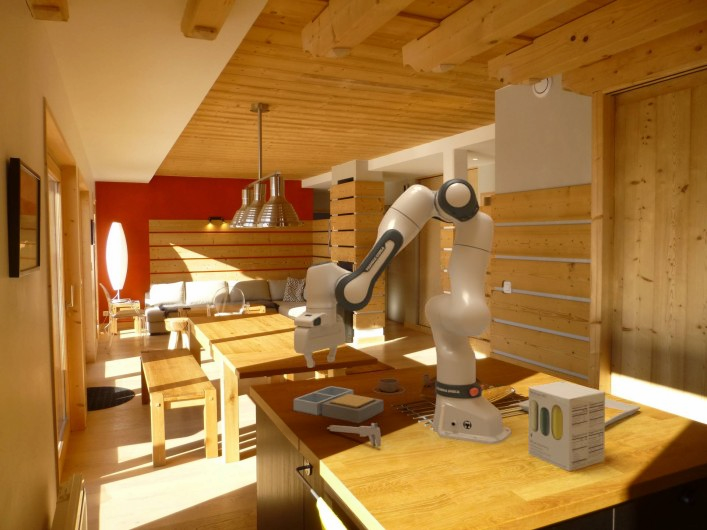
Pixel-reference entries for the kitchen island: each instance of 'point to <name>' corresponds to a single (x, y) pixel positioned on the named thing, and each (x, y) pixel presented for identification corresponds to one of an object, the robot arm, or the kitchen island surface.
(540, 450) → the supplement box
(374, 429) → the caliper
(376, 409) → the square frame
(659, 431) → the kitchen island surface
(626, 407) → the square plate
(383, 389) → the place setting
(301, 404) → the tray
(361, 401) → the button
